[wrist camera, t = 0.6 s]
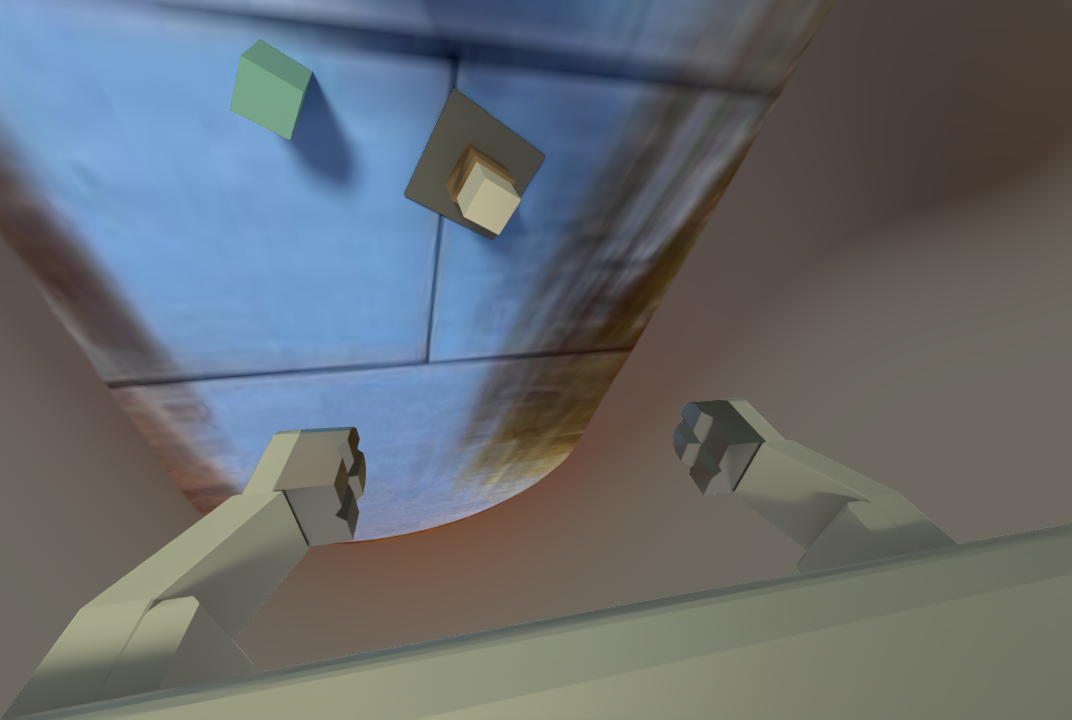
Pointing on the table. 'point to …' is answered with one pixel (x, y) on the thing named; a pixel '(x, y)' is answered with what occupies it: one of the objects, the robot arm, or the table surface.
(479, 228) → the mat
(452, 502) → the table surface
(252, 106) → the green block
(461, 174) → the base block
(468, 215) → the top block
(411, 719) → the robot arm
